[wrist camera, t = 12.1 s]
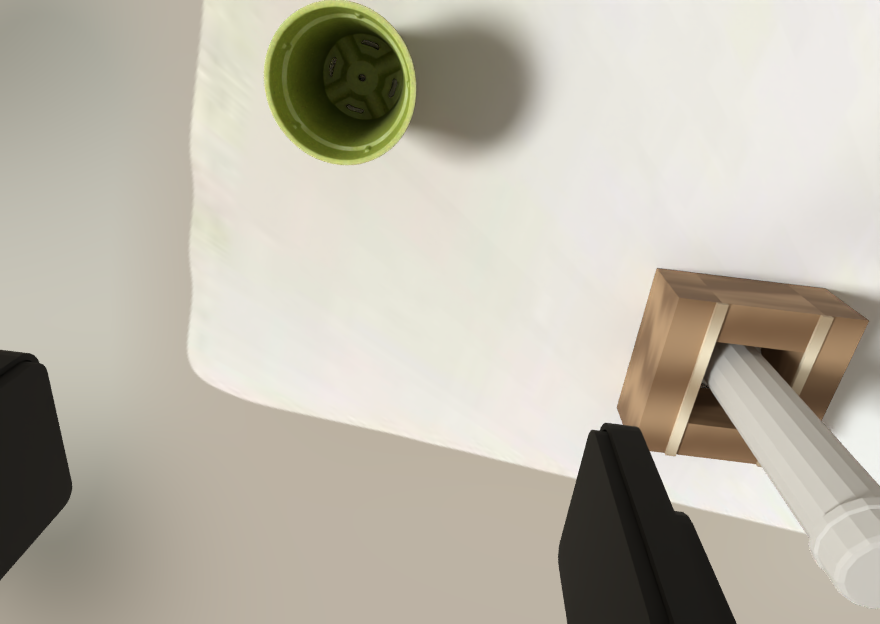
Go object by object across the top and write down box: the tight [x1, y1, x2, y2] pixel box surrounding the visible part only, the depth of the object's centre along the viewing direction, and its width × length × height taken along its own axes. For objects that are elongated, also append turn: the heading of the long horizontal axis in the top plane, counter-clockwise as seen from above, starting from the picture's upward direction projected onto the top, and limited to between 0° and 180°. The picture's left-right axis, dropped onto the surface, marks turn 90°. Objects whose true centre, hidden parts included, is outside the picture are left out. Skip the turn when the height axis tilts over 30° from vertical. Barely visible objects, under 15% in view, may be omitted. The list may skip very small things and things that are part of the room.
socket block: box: [617, 268, 869, 467], centre depth 49 cm, size 14×14×6 cm
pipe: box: [702, 342, 880, 609], centre depth 38 cm, size 6×6×30 cm
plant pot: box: [264, 0, 416, 165], centre depth 39 cm, size 9×9×9 cm
